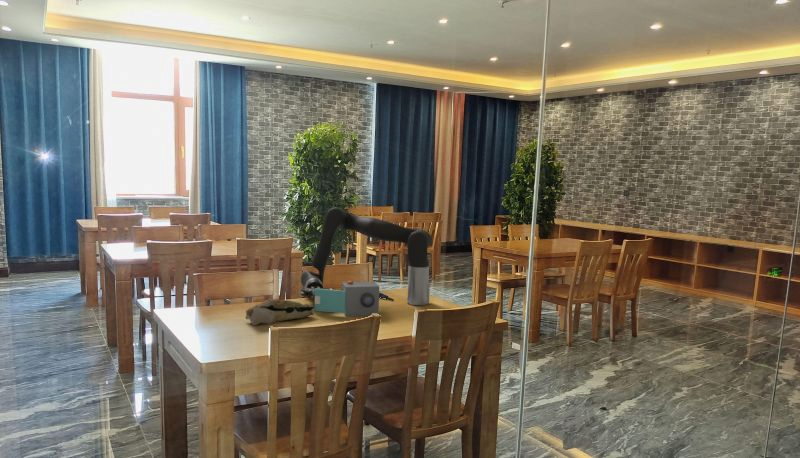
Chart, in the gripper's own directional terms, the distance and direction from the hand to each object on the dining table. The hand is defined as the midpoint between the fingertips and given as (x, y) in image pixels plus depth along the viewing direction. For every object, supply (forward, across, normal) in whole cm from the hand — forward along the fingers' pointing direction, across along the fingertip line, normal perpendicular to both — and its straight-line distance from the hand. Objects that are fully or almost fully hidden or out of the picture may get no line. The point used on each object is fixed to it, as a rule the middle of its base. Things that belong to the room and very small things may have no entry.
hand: (317, 296), depth 226 cm
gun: (-27, +26, +8) cm, 38 cm away
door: (+4, +5, +5) cm, 8 cm away
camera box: (0, +18, +7) cm, 19 cm away
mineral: (+9, -14, +7) cm, 18 cm away
